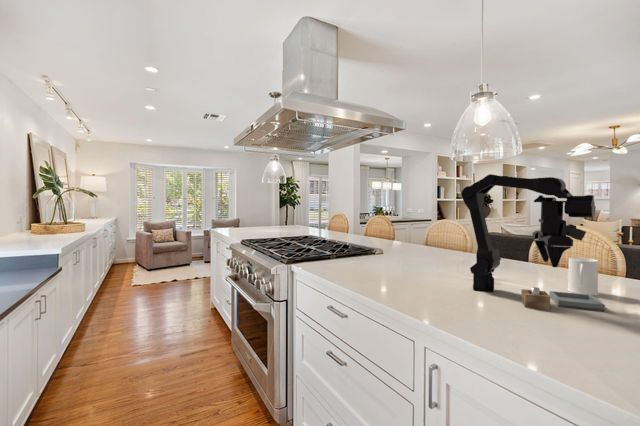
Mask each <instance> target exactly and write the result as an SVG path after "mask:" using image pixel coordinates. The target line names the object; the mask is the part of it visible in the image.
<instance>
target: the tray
mask: <svg viewBox="0 0 640 426" xmlns="http://www.w3.org/2000/svg"><path fill="white" fill-rule="evenodd" d="M548 295H549V296H550V300H552V302H554V303H555V304H556V305H557V307H559V308H568V309H569V308H570V309H576V310H577V309H578V310H589V311H597V312H605V311H606V304H605V303H603V302H601V301H600V300H599V299H597V298H596V297H595V296H592V295H589V294H578V293H572V292H567V291H566V292H563V291H553V290H549V294H548Z"/></svg>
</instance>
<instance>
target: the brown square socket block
mask: <svg viewBox="0 0 640 426" xmlns="http://www.w3.org/2000/svg"><path fill="white" fill-rule="evenodd" d="M520 299H521V303H522V304H523V306H524V307H525V308H529V309H540V310H548V311H549V310H551V298H550V296H549V294H548V293H547V292H546V291H545V290H540V295H537V294H531V289H525V288H522V289H521V297H520Z"/></svg>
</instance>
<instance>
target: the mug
mask: <svg viewBox="0 0 640 426" xmlns="http://www.w3.org/2000/svg"><path fill="white" fill-rule="evenodd" d="M567 282H568V285H567V291H568V293H578V294H589V295H592V296H593V297H595V296H599V295H600V294H599V289H598V288H599V260H597V259H593V258H588V257H587V258H586V257H568V281H567Z"/></svg>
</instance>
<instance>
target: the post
mask: <svg viewBox="0 0 640 426" xmlns="http://www.w3.org/2000/svg"><path fill="white" fill-rule="evenodd" d="M530 290H531V294H537V295H540V291H541V290H540V287H535V286H533V287H531V288H530Z"/></svg>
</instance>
